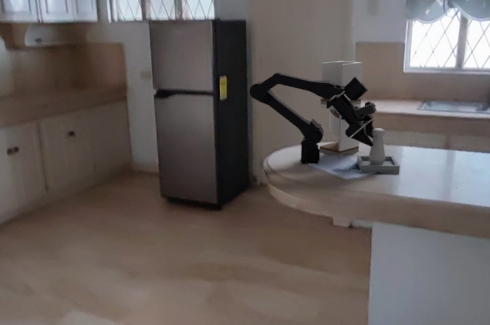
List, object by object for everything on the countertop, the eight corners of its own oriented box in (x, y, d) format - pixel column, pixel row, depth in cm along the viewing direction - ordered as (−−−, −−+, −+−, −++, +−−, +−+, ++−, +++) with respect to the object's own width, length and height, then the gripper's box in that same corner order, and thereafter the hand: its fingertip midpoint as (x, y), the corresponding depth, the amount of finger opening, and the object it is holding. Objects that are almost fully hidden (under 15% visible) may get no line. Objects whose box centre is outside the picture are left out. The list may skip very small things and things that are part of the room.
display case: (338, 146, 211) (341, 60, 201) (358, 151, 203) (362, 62, 193) (319, 151, 204) (321, 62, 194) (339, 156, 196) (343, 64, 186)
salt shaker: (384, 162, 183) (386, 127, 180) (386, 166, 178) (388, 130, 174) (367, 162, 184) (369, 127, 181) (369, 166, 179) (371, 130, 175)
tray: (360, 172, 176) (361, 165, 175) (356, 161, 188) (357, 155, 187) (399, 172, 174) (399, 166, 174) (392, 162, 187) (393, 155, 186)
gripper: (356, 98, 169) (387, 134, 167) (369, 91, 185) (398, 123, 183) (332, 120, 174) (362, 154, 173) (347, 111, 190) (374, 142, 189)
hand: (375, 142), depth 179 cm, fingers open, 9 cm apart
